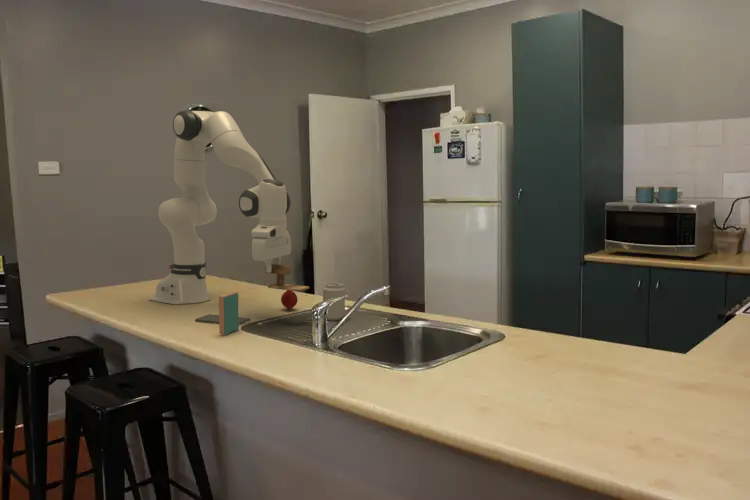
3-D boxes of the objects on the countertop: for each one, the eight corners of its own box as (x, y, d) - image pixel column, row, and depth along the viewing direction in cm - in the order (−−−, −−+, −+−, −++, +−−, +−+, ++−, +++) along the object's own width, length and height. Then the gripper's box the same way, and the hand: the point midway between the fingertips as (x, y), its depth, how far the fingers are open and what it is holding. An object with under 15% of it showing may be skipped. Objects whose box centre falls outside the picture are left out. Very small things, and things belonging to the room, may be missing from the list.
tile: (219, 335, 195) (218, 296, 194) (233, 329, 203) (233, 291, 201) (224, 336, 195) (224, 296, 193) (239, 330, 202) (238, 292, 200)
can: (349, 318, 219) (349, 283, 218) (333, 322, 214) (333, 286, 212) (334, 315, 224) (334, 281, 223) (318, 318, 219) (318, 283, 218)
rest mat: (195, 321, 212) (195, 319, 212) (209, 316, 220) (209, 314, 219) (237, 326, 207) (237, 323, 207) (250, 320, 214) (250, 318, 214)
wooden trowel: (262, 287, 211) (262, 265, 210) (271, 284, 217) (271, 263, 216) (300, 291, 207) (301, 269, 206) (309, 288, 212) (309, 266, 211)
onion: (298, 308, 234) (298, 286, 233) (295, 311, 228) (295, 289, 227) (283, 307, 235) (283, 286, 234) (279, 311, 229) (279, 289, 228)
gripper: (279, 226, 222) (279, 266, 223) (248, 231, 203) (248, 275, 204) (296, 227, 219) (295, 267, 221) (266, 233, 200) (265, 276, 202)
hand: (272, 271), depth 213 cm, fingers closed on wooden trowel, 3 cm apart
